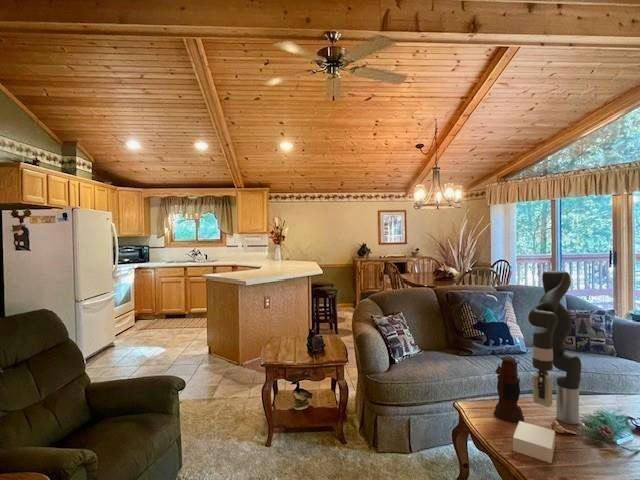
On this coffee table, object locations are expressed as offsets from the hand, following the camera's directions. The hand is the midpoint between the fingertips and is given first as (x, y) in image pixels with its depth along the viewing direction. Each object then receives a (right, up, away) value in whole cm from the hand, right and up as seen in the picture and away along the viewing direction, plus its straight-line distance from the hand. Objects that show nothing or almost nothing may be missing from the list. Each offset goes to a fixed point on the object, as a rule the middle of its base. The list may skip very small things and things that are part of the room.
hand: (542, 395), depth 155 cm
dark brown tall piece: (0, -23, +28) cm, 36 cm away
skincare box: (0, -4, 0) cm, 4 cm away
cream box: (-2, -24, +2) cm, 24 cm away
